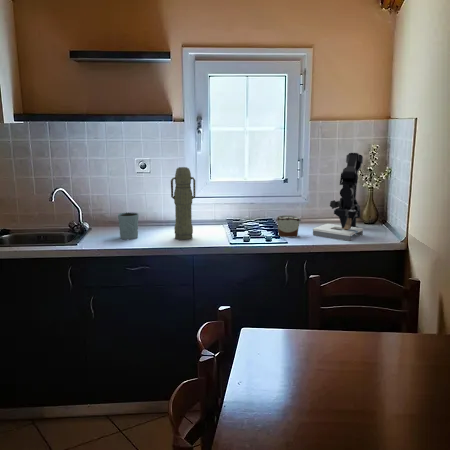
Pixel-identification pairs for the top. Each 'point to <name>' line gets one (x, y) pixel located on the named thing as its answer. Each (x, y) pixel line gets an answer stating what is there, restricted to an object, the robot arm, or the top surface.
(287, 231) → the food container
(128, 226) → the green plant pot
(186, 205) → the thermos
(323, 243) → the top surface
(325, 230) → the keyhole plate
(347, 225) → the T-peg
